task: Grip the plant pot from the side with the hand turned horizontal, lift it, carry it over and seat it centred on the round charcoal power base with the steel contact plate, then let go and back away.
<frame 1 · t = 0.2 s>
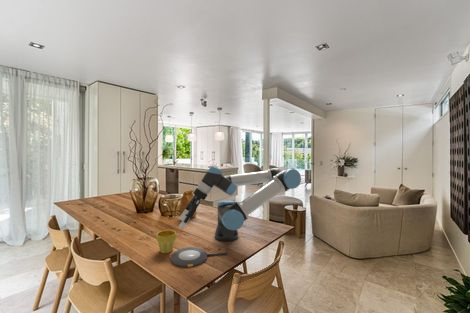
hand: (180, 223, 126), 15 cm above the table, tool tilted 35°, fingers open, 13 cm apart
plant pot: (166, 251, 125), on the table
coffee package: (188, 217, 185), on the table
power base: (189, 257, 117), on the table
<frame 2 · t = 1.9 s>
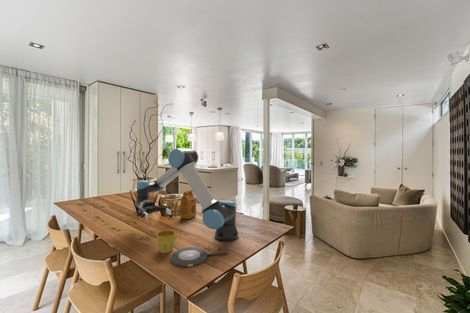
hand: (159, 214, 132), 18 cm above the table, tool horizontal, fingers open, 13 cm apart
nothing on the table moved.
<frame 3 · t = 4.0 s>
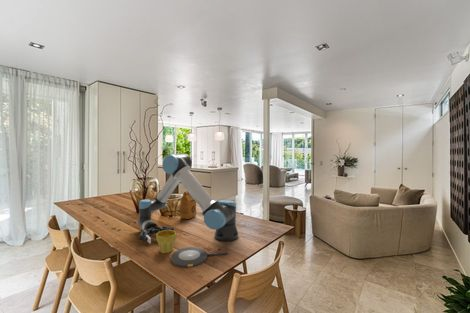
hand: (162, 238, 128), 6 cm above the table, tool horizontal, fingers open, 13 cm apart
nothing on the table moved.
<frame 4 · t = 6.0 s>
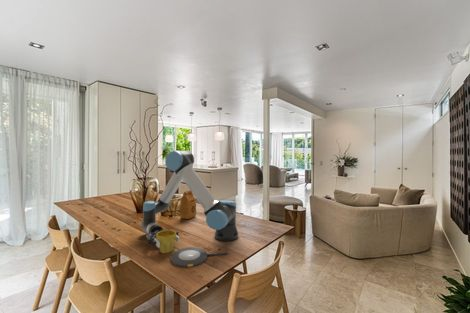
hand: (169, 242, 122), 6 cm above the table, tool horizontal, fingers closed on plant pot, 10 cm apart
plant pot: (166, 251, 125), on the table, touching gripper
everything else where it was.
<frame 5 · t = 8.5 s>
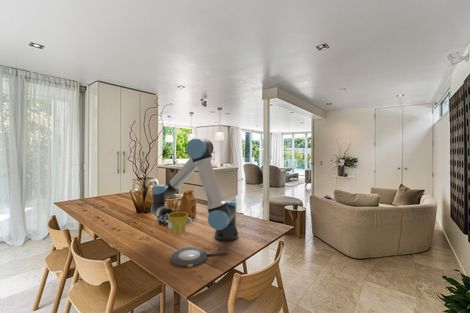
hand: (181, 223, 117), 18 cm above the table, tool horizontal, fingers closed on plant pot, 10 cm apart
plant pot: (178, 233, 120), point 12 cm above the table, touching gripper
everything else where it was.
when the fingers open (9 cm above the table, at t = 11.2 s): plant pot drops 1 cm, resting on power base.
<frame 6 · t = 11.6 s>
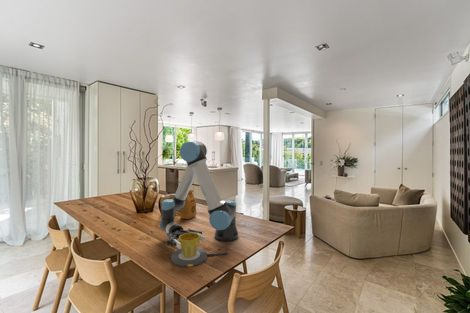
hand: (192, 242, 115), 9 cm above the table, tool horizontal, fingers open, 13 cm apart
plant pot: (189, 255, 118), point 1 cm above the table, touching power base
everything else where it was.
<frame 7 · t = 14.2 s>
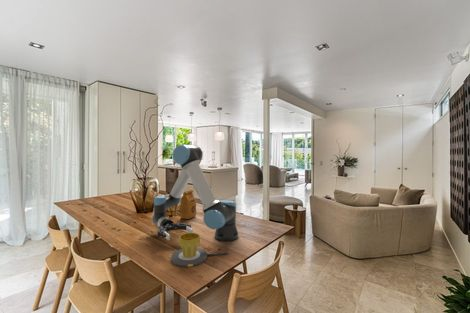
hand: (181, 234, 125), 9 cm above the table, tool horizontal, fingers open, 13 cm apart
nothing on the table moved.
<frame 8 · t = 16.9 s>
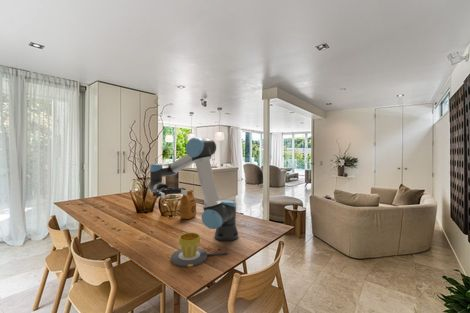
hand: (175, 194, 130), 30 cm above the table, tool horizontal, fingers open, 13 cm apart
nothing on the table moved.
at the end: plant pot 0.1 cm off-centre on the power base, point 1.3 cm above the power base's base; plant pot tilted 0°; the gripper is holding nothing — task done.
